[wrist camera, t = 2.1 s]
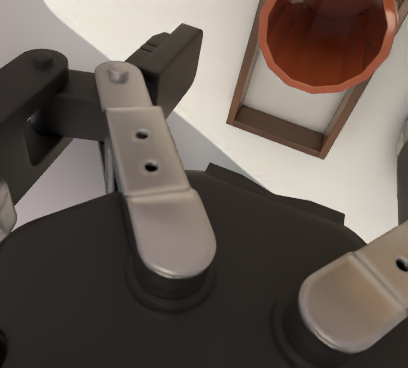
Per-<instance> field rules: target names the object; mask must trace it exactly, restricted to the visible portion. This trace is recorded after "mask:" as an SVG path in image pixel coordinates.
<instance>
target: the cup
mask: <svg viewBox="0 0 408 368" xmlns="http://www.w3.org/2000/svg"><path fill="white" fill-rule="evenodd" d="M397 28H398V1H397V0H267V1H266V3H265V4H264V6H263V8H262V10H261V12H260V20H259V36H258V42H259V45H260V48H261V50H262V53H263V55H264V58H265V61H266V63H267V66H268V67H269V68H270V69H271V70H272V71H273V72H274V73H275V74H276V75H277V76H278V77H279V78H280V79H281V80H282V81H283V82H284V83H285V84H287V85H288V86H291V87H294V88H297V89H300V90H303V91H305V92H308V93H311V94H318V93H335V92H342V91H344V90H346V89H348V88H350V87H352V86H354V85H356V84H358V83H361V82H363V81H365V80H367V79H368V78H369V77H370V76H371V75H372V74H373V73H374V71H375V70H376V69H377V68H378V67H379V66H380V65H381V64H382V63H383V61H384V60H385V59H386V58H387V57H388V55H389V53H390V50H391V47H392V44H393V40H394V37H395V34H396V31H397Z"/></svg>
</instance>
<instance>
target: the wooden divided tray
mask: <svg viewBox="0 0 408 368" xmlns="http://www.w3.org/2000/svg"><path fill="white" fill-rule="evenodd" d="M266 1H267V0H260V1H259V5H258V9H257V12H256V16H255V20H254V23H253V27H252V30H251V34H250V38H249V41H248V45H247V49H246V52H245V56H244V60H243V63H242V67H241V70H240V74H239V78H238V81H237V85H236V89H235V92H234V96H233V100H232V103H231V107H230V110H229V114H228V118H227V121H226V124H229V125H233V126H234V127H237V128H239V129H242V130H245V131H248V132H250V133H253V134H256V135H258V136H261V137H264V138H266V139H269V140H272V141H274V142H277V143H280V144H283V145H285V146H288V147H291V148H293V149H296V150H299V151H301V152H304V153H307V154H309V155H312V156H315V157H318V158H320V159H323V160H324V159H325V157H326V156H327V154H328V152H329V150H330V149H331V147H332V145H333V143H334V142H335V140H336V138H337V136H338V135H339V133H340V131H341V129H342V128H343V126H344V124H345V122H346V121H347V119H348V117H349V115H350V114H351V112H352V110H353V108H354V107H355V105H356V103H357V102H358V100H359V98H360V96H361V95H362V93H363V91H364V89H365V88H366V86H367V84H368V82H369V81H370V79H371V77H372V75H373V74H374V73H373V74H372V75H371V76H370V77H369V78H368V79H367V80H365V81H363V82H361V83H358V84H356V85H354V86H352V87H350V88H349V89H348V90H347V92H346V94H345V96H344V98H343V100H342V102H341V103H340V105H339V107H338V109H337V111H336V113H335V115H334V117H333V118H332V120H331V122H330V124H329V126H328V128H327V130H326V132H325V133H324V135H323V134H320V133H317V132H315V131H312V130H309V129H306V128H304V127H301V126H298V125H295V124H293V123H290V122H287V121H284V120H282V119H279V118H276V117H273V116H271V115H268V114H265V113H262V112H260V111H257V110H254V109H251V108H249V107H246V106H243V105H242V104H243V101H244V98H245V94H246V91H247V88H248V84H249V81H250V78H251V75H252V71H253V68H254V65H255V61H256V58H257V55H258V51H259V48H260V45H259V42H258V36H259V20H260V12H261V10H262V8H263V6H264V4H265V3H266ZM397 1H398V28H397V31H396V33H397V32H398V30H399V28H400V26H401V25H402V23H403V21H404V19H405V18H406V16H407V14H408V0H397ZM395 35H396V34H395ZM374 72H375V71H374Z"/></svg>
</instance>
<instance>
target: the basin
mask: <svg viewBox="0 0 408 368" xmlns="http://www.w3.org/2000/svg"><path fill="white" fill-rule="evenodd" d="M407 140H408V119H407V121H406V122H405V123H404V125H403V127H402V130H401V134H400V138H399V141H398V145H397V149H396V158H398V155H399V152H400V150H401V148H402V147H403V145H404V144H405V142H406V141H407ZM397 199H398V189H397Z"/></svg>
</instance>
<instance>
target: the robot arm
mask: <svg viewBox="0 0 408 368" xmlns="http://www.w3.org/2000/svg"><path fill="white" fill-rule="evenodd" d="M202 38H203V31H202V30H201V29H198V28H195V27H192V26H189V25H186V24H183V23H182V24H181V25H179V26H178V27H177V28H176V29H175V30H174V31H173V32H172V33H171V34H169V33H166V32H164V33H161V34H157V35H154V36H152V37H151V38H150V39H149V40H148V41H147V42H146V44H145V43H144V44H143V45H142V46H141V47H140V49H138V50H137V51H136V52H134V53H133V54H132V55H131V56H130V57H129V58H128V59H127V60H125V61H124V62H122V61H109V62H105V63H102V64H100V65H99V66H97V67H96V69H95V73H90V72H82V71H76V70H69V68H68V60H67V58H66V57H65V56H64V55H63V54H62V53H59V52H57V51H54V50H49V49H34V50H30V51H26V52H24V53H23V54H21V55H19V56H18V57H16V58H15V59H14V60H12V61H11V62H9V63H8V64H6V65H5V66H4V67H2V68H1V69H0V368H408V140H407V141H406V142H405V144H404V145H403V147H402V148H401V150H400V152H399V155H398V158H397V189H398V224H399V225H398V226H396V227H395V228H393V229H392V230H390V231H388V232H387V233H385V234H383V235H382V236H380V237H378V238H377V239H375V240H374V241H372V242H370V243H369V244H366V243H365V242H364V241H363V240H362V239H361V238H360V237H359V236H358V235H357V234H356V233H354V232H353V231H352V230H350V229H349V228H348V227H346V226H344V217H345V214H343V213H341V212H338V211H335V210H333V209H330V208H328V207H325V206H322V205H320V204H317V203H315V202H312V201H308V200H302V199H297V198H292V197H286V196H281V195H276V194H273V193H271V192H269V191H268V190H266V189H265V188H263V187H261V186H260V185H258V184H256V183H255V182H253V181H251V180H250V179H248V178H246V177H245V176H243V175H241V174H239V173H236V172H233V171H231V170H228V169H226V168H223V167H220V166H217V165H215V164H213V163H209V165H208V167H207V169H206V171H199V170H184V167H183V165H182V162H181V159H180V156H179V154H178V151H177V149H176V145H175V143H174V140H173V137H172V135H171V132H170V129H169V126H168V124H167V121H166V119H167V117H168V116H169V115H170V113H171V112H172V111H173V109H174V108H175V107H176V105H177V104H178V103H179V101H180V100H181V99H182V97H183V96H184V95H185V94H186V92H187V91H188V90H189V88H190V87H191V85H192V83H193V81H194V78H195V75H196V71H197V66H198V60H199V55H200V49H201V44H202ZM29 117H30V119H29ZM28 119H29V120H28ZM27 120H28V121H27ZM73 138H79V139H88V140H95V141H98V148H99V153H100V159H101V165H102V170H103V176H104V181H105V189H106V195H103V196H101V197H98V198H95V199H92V200H89V201H87V202H84V203H81V204H78V205H75V206H72V207H69V208H66V209H64V210H61V211H58V212H55V213H52V214H49V215H46V216H43V217H41V218H38V219H35V220H33V221H30V222H28V223H26V224H24V225H22V226H20V227H18V228H17V229H15V230H14V231H12V229H13V228H14V226H15V224H16V221H17V214H16V211H15V207H14V206H15V205H16V204H17V203H18V201H19V200H20V199H21V198H22V197H23V196H24V195H25V193H26V192H27V191H28V190H29V189H30V188H31V187H32V185H33V184H34V183H35V182H36V181H37V180H38V179H39V177H40V176H41V175H42V174H43V173H44V172H45V171H46V170H47V168H48V167H49V166H50V165H51V164H52V163H53V162H54V160H55V159H56V158H57V157H58V156H59V155H60V153H62V151H63V150H64V149H65V148H66V147H67V146H68V144H69V143H70V142H71V141H72V140H73ZM11 231H12V232H11Z"/></svg>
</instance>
